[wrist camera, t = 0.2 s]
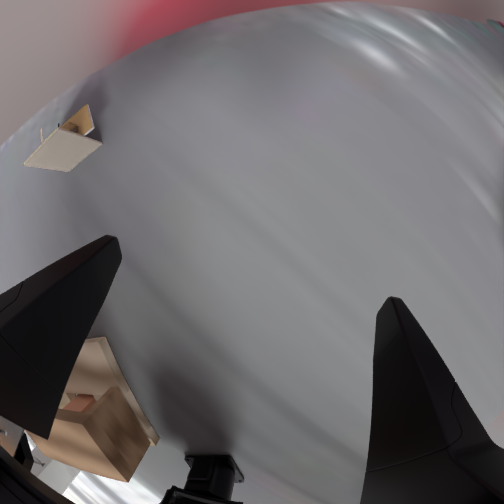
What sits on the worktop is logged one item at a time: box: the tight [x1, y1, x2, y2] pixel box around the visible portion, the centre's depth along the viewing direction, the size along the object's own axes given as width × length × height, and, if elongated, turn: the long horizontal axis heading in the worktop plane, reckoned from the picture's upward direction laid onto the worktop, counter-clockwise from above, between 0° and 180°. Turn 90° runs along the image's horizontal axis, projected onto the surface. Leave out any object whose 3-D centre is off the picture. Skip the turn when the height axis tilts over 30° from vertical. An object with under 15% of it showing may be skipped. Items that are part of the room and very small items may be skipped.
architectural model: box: [24, 104, 103, 172], centre depth 20 cm, size 3×7×7 cm, turn 115°
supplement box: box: [31, 446, 81, 495], centre depth 26 cm, size 7×7×13 cm
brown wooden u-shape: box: [26, 387, 151, 482], centre depth 22 cm, size 9×17×7 cm, turn 106°
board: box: [58, 337, 159, 446], centre depth 27 cm, size 16×17×2 cm
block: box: [63, 394, 97, 412], centre depth 25 cm, size 4×4×7 cm
